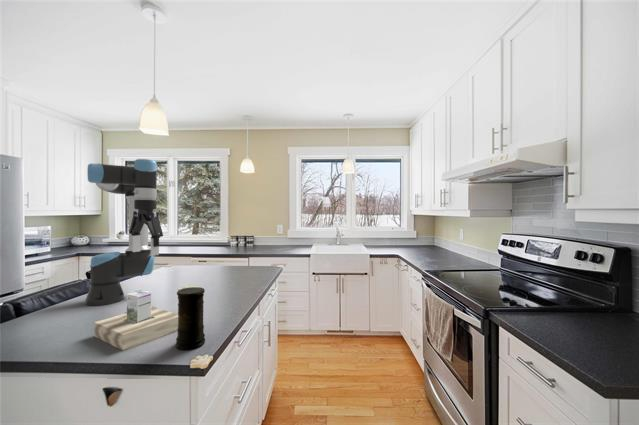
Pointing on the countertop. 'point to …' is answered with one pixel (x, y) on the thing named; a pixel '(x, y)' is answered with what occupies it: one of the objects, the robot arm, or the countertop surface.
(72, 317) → the countertop surface
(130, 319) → the syrup box
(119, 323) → the socket block
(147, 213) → the robot arm
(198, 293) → the container
